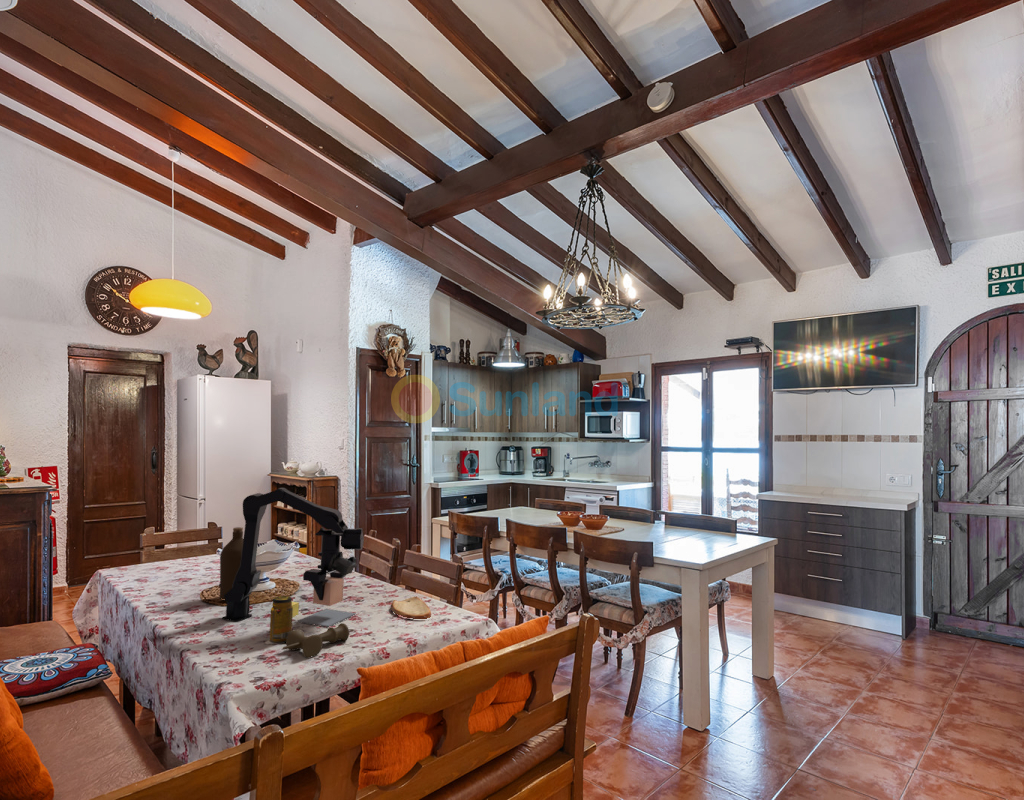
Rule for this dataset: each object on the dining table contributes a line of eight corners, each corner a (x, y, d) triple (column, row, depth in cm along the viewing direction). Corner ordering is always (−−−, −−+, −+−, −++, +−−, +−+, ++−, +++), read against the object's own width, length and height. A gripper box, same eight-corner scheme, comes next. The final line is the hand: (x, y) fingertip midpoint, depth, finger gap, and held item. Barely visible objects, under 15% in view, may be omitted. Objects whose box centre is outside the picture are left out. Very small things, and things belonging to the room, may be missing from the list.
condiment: (272, 635, 173) (274, 594, 174) (301, 635, 174) (303, 594, 175) (264, 644, 166) (266, 601, 167) (295, 644, 167) (296, 601, 168)
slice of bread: (428, 623, 189) (428, 611, 190) (377, 617, 193) (377, 606, 193) (446, 607, 207) (446, 596, 207) (398, 602, 211) (399, 592, 211)
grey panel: (328, 627, 181) (328, 625, 181) (297, 622, 186) (297, 620, 186) (355, 614, 195) (356, 613, 195) (326, 610, 199) (326, 608, 199)
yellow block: (289, 618, 189) (290, 605, 190) (279, 616, 191) (280, 604, 191) (298, 615, 193) (298, 602, 193) (288, 613, 195) (289, 601, 195)
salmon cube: (329, 606, 186) (330, 583, 187) (312, 603, 189) (314, 580, 189) (342, 600, 192) (343, 578, 193) (326, 598, 195) (327, 576, 195)
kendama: (354, 645, 169) (292, 664, 153) (334, 638, 174) (272, 656, 159) (355, 624, 169) (293, 640, 153) (335, 618, 175) (273, 633, 159)
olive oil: (256, 595, 214) (260, 526, 215) (239, 603, 204) (242, 531, 205) (229, 593, 216) (233, 525, 217) (211, 601, 205) (215, 529, 206)
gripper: (332, 556, 180) (329, 608, 179) (367, 546, 197) (365, 593, 196) (303, 553, 184) (300, 603, 183) (340, 543, 201) (338, 589, 200)
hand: (328, 597), depth 191 cm, fingers closed on salmon cube, 7 cm apart
